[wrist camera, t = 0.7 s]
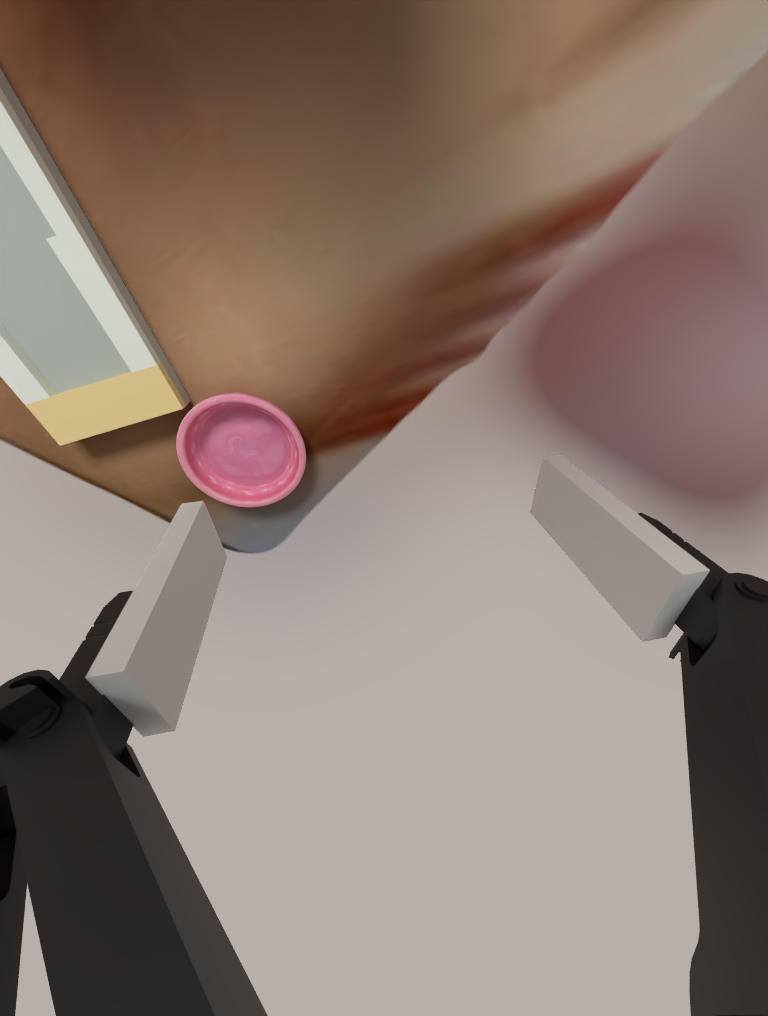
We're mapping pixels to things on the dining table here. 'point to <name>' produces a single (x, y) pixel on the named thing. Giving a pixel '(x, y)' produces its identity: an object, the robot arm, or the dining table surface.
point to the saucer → (241, 450)
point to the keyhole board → (67, 303)
